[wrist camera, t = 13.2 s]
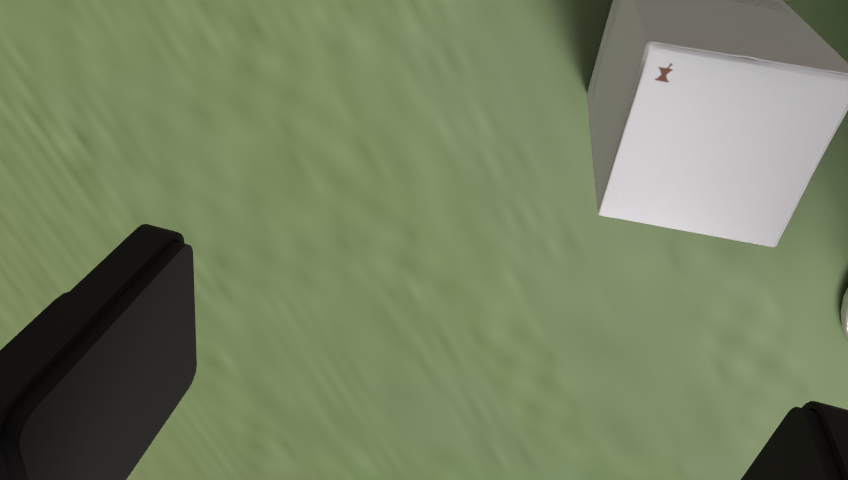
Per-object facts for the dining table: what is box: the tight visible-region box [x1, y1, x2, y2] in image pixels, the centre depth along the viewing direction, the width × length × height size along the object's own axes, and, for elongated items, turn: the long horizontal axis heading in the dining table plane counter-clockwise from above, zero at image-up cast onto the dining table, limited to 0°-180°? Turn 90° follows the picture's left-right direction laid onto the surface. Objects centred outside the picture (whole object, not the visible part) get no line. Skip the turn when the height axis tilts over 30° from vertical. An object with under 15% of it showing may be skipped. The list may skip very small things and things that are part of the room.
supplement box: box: [587, 0, 848, 247], centre depth 30 cm, size 7×7×13 cm
